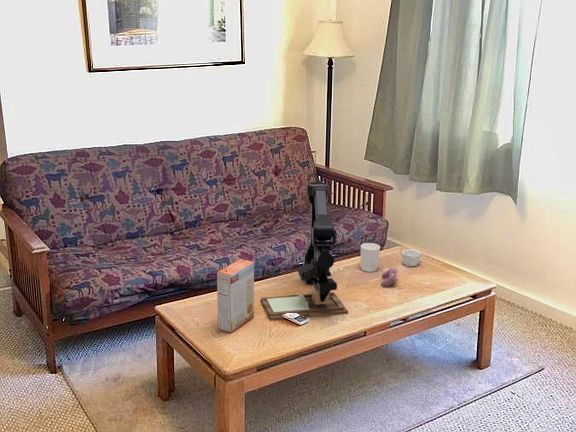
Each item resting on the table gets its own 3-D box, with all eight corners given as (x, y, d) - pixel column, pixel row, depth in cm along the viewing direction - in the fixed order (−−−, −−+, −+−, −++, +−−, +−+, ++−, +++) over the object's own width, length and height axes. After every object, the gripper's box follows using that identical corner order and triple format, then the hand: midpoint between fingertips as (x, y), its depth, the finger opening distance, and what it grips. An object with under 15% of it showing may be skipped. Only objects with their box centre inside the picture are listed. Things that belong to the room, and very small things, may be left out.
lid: (266, 300, 247) (266, 294, 246) (301, 297, 250) (301, 292, 249) (273, 313, 237) (273, 307, 236) (309, 310, 240) (309, 304, 239)
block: (311, 298, 248) (312, 284, 246) (324, 297, 249) (325, 283, 247) (315, 304, 243) (316, 290, 242) (328, 303, 245) (329, 289, 243)
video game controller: (390, 291, 264) (399, 277, 262) (379, 285, 264) (389, 271, 262) (390, 281, 274) (399, 267, 271) (380, 276, 274) (389, 262, 271)
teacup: (409, 269, 282) (411, 257, 281) (396, 263, 288) (397, 251, 287) (427, 264, 288) (428, 252, 286) (413, 259, 294) (415, 247, 292)
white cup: (381, 268, 283) (383, 245, 280) (373, 274, 276) (375, 251, 273) (364, 264, 287) (366, 241, 284) (355, 269, 280) (357, 246, 277)
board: (260, 300, 249) (260, 296, 249) (334, 295, 256) (334, 290, 255) (270, 320, 235) (270, 315, 234) (348, 313, 241) (348, 309, 241)
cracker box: (240, 313, 239) (240, 257, 232) (254, 318, 236) (255, 261, 230) (216, 329, 227) (216, 270, 221) (231, 334, 224) (231, 275, 218)
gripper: (293, 250, 248) (291, 289, 253) (307, 269, 231) (305, 311, 235) (322, 248, 250) (320, 287, 255) (338, 267, 233) (336, 309, 238)
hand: (320, 298), depth 246 cm, fingers closed on block, 5 cm apart
